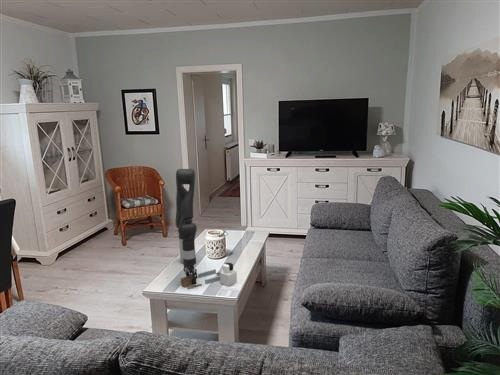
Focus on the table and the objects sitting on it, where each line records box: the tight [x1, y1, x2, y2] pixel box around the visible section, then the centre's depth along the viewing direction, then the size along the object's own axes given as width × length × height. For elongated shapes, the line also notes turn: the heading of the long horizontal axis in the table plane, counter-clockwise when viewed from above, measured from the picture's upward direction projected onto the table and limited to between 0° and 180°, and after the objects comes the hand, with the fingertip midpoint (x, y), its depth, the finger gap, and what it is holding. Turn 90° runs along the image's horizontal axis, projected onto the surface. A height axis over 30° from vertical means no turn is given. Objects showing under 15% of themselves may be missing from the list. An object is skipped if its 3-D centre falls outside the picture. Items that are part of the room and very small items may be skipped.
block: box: [180, 276, 198, 289], centre depth 226 cm, size 4×8×4 cm, turn 124°
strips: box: [186, 283, 203, 290], centre depth 227 cm, size 11×9×1 cm
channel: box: [197, 268, 220, 285], centre depth 233 cm, size 12×12×2 cm
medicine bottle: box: [219, 262, 238, 287], centre depth 225 cm, size 7×7×12 cm
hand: (191, 282), depth 226 cm, fingers open, 8 cm apart
